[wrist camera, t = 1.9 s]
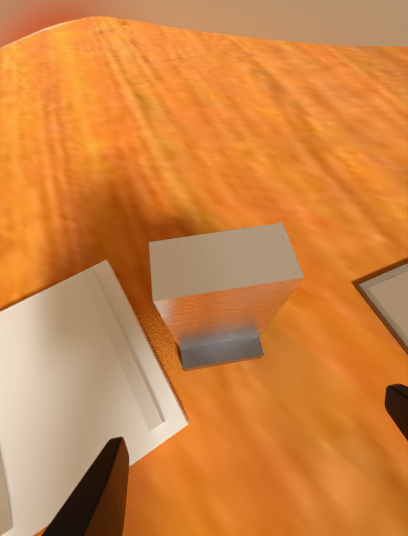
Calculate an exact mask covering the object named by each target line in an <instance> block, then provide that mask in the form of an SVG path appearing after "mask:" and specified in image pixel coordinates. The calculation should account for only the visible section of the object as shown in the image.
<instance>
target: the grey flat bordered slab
mask: <svg viewBox="0 0 408 536" xmlns="http://www.w3.org/2000/svg"><path fill="white" fill-rule="evenodd" d="M355 288H356V289H357V290H358V291H359V293H360V294H361V295H362V297H363V298H364V299H365V300H366V302H367V303H368V304H369V306H370V307H371V308H372V309H373V311H374V312H375V313H376V315H377V316H378V317H379V318H380V320H381V321H382V322H383V324H384V325H385V326H386V327H387V329H388V330H389V331H390V333H391V334H392V335H393V336H394V338H395V339H396V340H397V341H398V343H399V344H400V345H401V347H402V348H403V349H404V350H405V352H406V353H407V354H408V263H407V264H405V265H402V266H400V267H398V268H395V269H393V270H391V271H389V272H386V273H384V274H382V275H379V276H377V277H375V278H372V279H370V280H368V281H366V282H363V283H361V284H359V285H357V286H356V287H355Z"/></svg>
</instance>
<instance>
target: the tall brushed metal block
mask: <svg viewBox="0 0 408 536" xmlns="http://www.w3.org/2000/svg"><path fill="white" fill-rule="evenodd" d="M149 253H150V269H151V284H152V299H153V303H154V305H155V306H156V308H157V310H158V312H159V313H160V315H161V317H162V318H163V320H164V322H165V324H166V325H167V327H168V329H169V330H170V332H171V334H172V336H173V337H174V339H175V341H176V343H177V344H178V346H179V348H180V349H181V358H182V366H183V370H184V371H189V370H195V369H200V368H206V367H212V366H217V365H223V364H229V363H234V362H240V361H246V360H251V359H257V358H261V357H262V356H263V355H264V354H263V350H262V346H261V343H260V339H259V335H260V334H261V333H262V331H263V330H264V329H265V328H266V326H267V325H268V324H269V322H270V321H271V320H272V318H273V317H274V316H275V315H276V313H277V312H278V311H279V309H280V308H281V307H282V306H283V304H284V303H285V302H286V300H287V299H288V298H289V296H290V295H291V294H292V293H293V291H294V290H295V289H296V287H297V286H298V285H299V284H300V282H301V281H302V280H303V278H304V275H303V273H302V270H301V268H300V265H299V263H298V260H297V258H296V255H295V253H294V250H293V248H292V245H291V243H290V240H289V238H288V235H287V233H286V230H285V228H284V225H283V223H277V224H270V225H264V226H257V227H250V228H243V229H236V230H229V231H222V232H215V233H208V234H201V235H194V236H188V237H181V238H174V239H167V240H160V241H153V242H149Z"/></svg>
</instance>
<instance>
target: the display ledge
mask: <svg viewBox="0 0 408 536" xmlns="http://www.w3.org/2000/svg"><path fill="white" fill-rule="evenodd" d="M188 424H189V421H188V419H187V417H186V415H185V413H184V411H183V409H182V407H181V405H180V403H179V401H178V399H177V397H176V395H175V393H174V391H173V389H172V387H171V385H170V383H169V381H168V379H167V377H166V375H165V373H164V371H163V369H162V367H161V365H160V363H159V361H158V359H157V357H156V355H155V353H154V351H153V349H152V347H151V345H150V343H149V341H148V339H147V337H146V335H145V333H144V331H143V329H142V327H141V325H140V323H139V321H138V319H137V317H136V315H135V313H134V310H133V308H132V306H131V304H130V302H129V300H128V298H127V296H126V294H125V292H124V290H123V288H122V286H121V284H120V282H119V280H118V278H117V276H116V274H115V272H114V270H113V268H112V267H111V265H110V264H109V263H108V261H107V260H105V261H103V262H101V263H99V264H96V265H94V266H92V267H90V268H88V269H86V270H84V271H82V272H80V273H78V274H76V275H74V276H72V277H70V278H68V279H66V280H64V281H62V282H60V283H58V284H56V285H54V286H52V287H50V288H48V289H46V290H44V291H41V292H39V293H37V294H35V295H33V296H31V297H29V298H27V299H25V300H23V301H21V302H19V303H17V304H15V305H13V306H11V307H9V308H7V309H5V310H3V311H1V312H0V536H33V535H35V534H36V533H37V532H39V531H40V530H42V529H43V528H44V527H46V526H47V525H49V524H50V523H51V521H52V520H53V518H54V517H55V516H56V514H57V513H58V511H59V510H60V508H61V507H62V506H63V504H64V503H65V501H66V500H67V499H68V497H69V496H70V494H71V493H72V491H73V490H74V489H75V487H76V486H77V484H78V483H79V482H80V480H81V479H82V477H83V476H84V474H85V473H86V472H87V470H88V469H89V467H90V466H91V465H92V463H93V462H94V460H95V459H96V457H97V456H98V455H99V453H100V452H101V450H102V449H103V448H104V446H105V445H106V443H107V442H108V441H109V440H110V439H111V438H115V437H123V438H124V440H125V443H126V446H127V450H128V453H129V466H131V465H132V464H134V463H135V462H136V461H138V460H139V459H141V458H142V457H143V456H145V455H146V454H147V453H149V452H150V451H152V450H153V449H154V448H156V447H157V446H159V445H160V444H161V443H163V442H164V441H166V440H167V439H168V438H170V437H171V436H173V435H174V434H175V433H177V432H178V431H179V430H181V429H182V428H184V427H185V426H186V425H188Z"/></svg>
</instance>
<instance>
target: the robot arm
mask: <svg viewBox="0 0 408 536" xmlns="http://www.w3.org/2000/svg"><path fill="white" fill-rule="evenodd" d="M385 408H386V410H387V412H388V413H389V415H390V416H391V418H392V419H393V421H394V422H395V424H396V425H397V426H398V428H399V429H400V431H401V432H402V434H403V435H404V436H405V438H406V439H407V441H408V387H407V386H404V385H402V384H393V385H389V386H387V388H386V395H385ZM128 472H129V453H128V450H127V446H126V443H125V440H124V438H123V437H115V438H111V439H110V440H109V441H108V442H107V443H106V445H105V446H104V448H103V449H102V450H101V452H100V453H99V455H98V456H97V457H96V459H95V460H94V462H93V463H92V465H91V466H90V467H89V469H88V470H87V472H86V473H85V474H84V476H83V477H82V479H81V480H80V482H79V483H78V484H77V486H76V487H75V489H74V490H73V491H72V493H71V494H70V496H69V497H68V499H67V500H66V501H65V503H64V504H63V506H62V507H61V508H60V510H59V511H58V513H57V514H56V516H55V517H54V518H53V520H52V521H51V523H50V524H49V525H48V527H47V528H46V530H45V531H44V533H43V534H42V535H41V536H122V532H123V526H124V517H125V506H126V495H127V483H128Z"/></svg>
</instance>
